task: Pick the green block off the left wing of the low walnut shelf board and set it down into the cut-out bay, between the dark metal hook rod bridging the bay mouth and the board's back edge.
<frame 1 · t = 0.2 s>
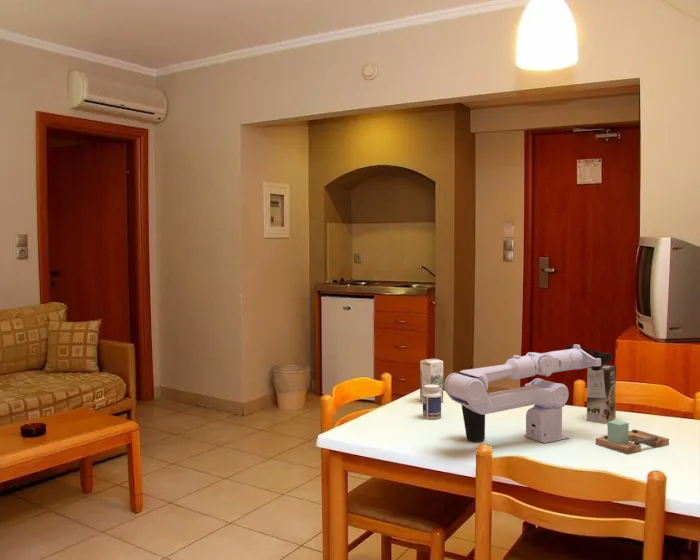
hand: (599, 355, 186), 21 cm above the table, tool horizontal, fingers open, 7 cm apart
coffee box: (601, 419, 197), on the table
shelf: (632, 444, 171), on the table
drinking cup: (475, 439, 177), on the table
green block: (617, 441, 169), point 2 cm above the table, touching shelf
pill bottle: (431, 418, 202), on the table
syrup box: (431, 402, 222), on the table
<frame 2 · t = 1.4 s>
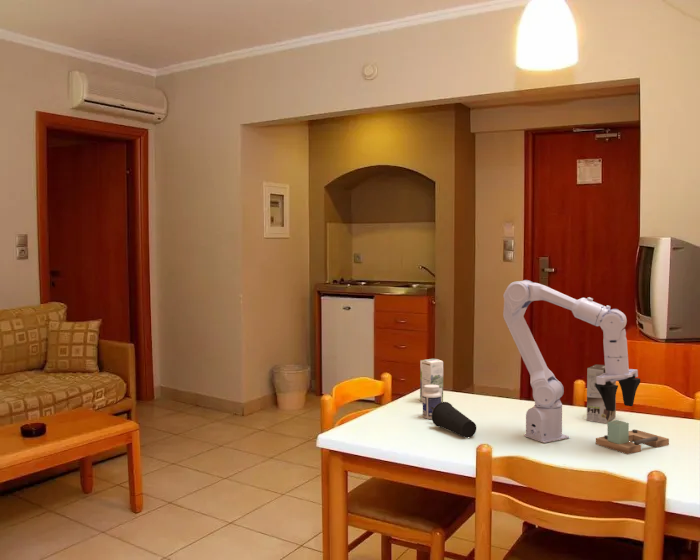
hand: (619, 408, 169), 10 cm above the table, tool pointing down, fingers open, 7 cm apart
drinking cup: (469, 429, 178), point 2 cm above the table
everything else where it was.
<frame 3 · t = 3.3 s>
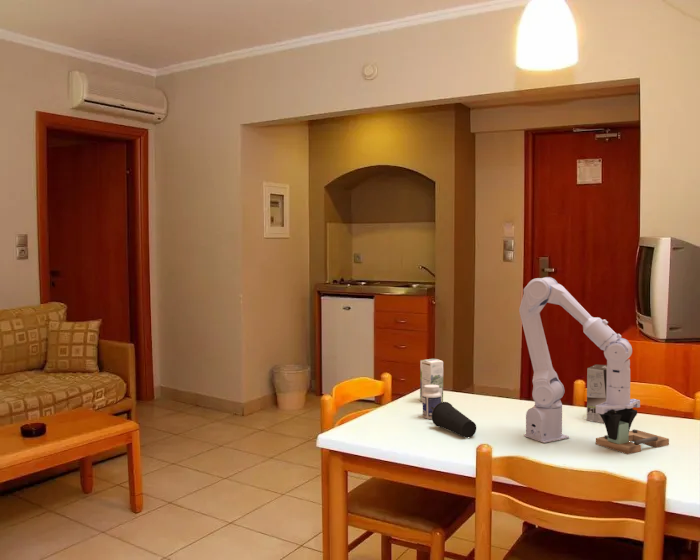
hand: (617, 437, 168), 3 cm above the table, tool pointing down, fingers closed on green block, 4 cm apart
green block: (617, 441, 169), point 2 cm above the table, touching gripper, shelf
everything else where it was.
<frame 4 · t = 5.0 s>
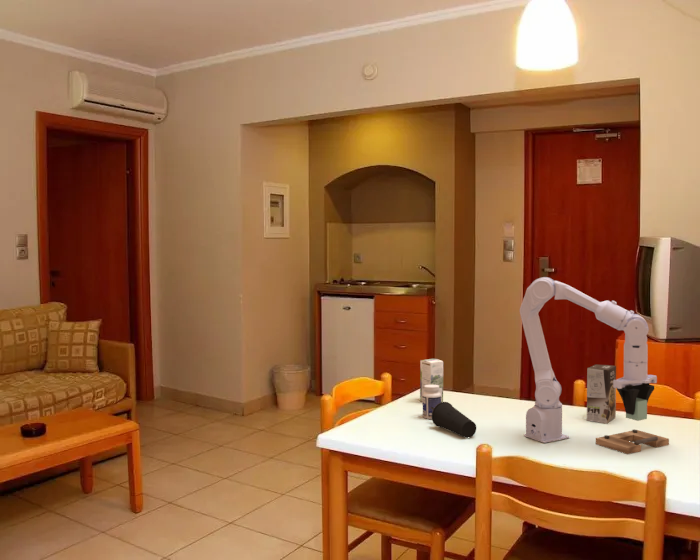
hand: (635, 412, 170), 9 cm above the table, tool pointing down, fingers closed on green block, 4 cm apart
green block: (636, 418, 170), point 7 cm above the table, touching gripper
everything else where it was.
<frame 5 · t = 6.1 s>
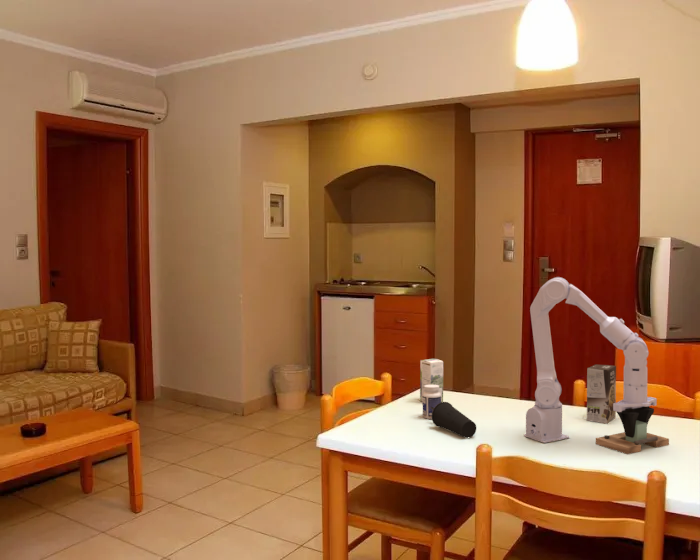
hand: (634, 435, 170), 3 cm above the table, tool pointing down, fingers closed on green block, 4 cm apart
green block: (636, 441, 170), point 1 cm above the table, touching gripper
everything else where it was.
when the fingers open (3 cm above the table, at t = 6.8 s): green block drops 1 cm, resting in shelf.
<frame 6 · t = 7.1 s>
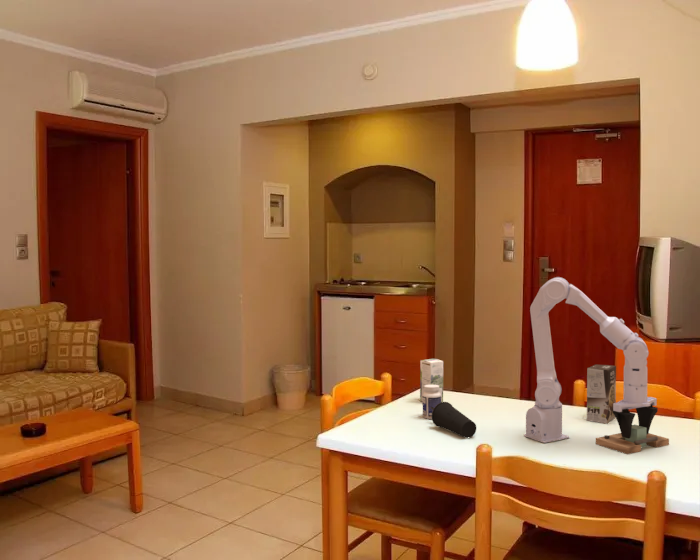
hand: (635, 435, 170), 3 cm above the table, tool pointing down, fingers open, 6 cm apart
green block: (635, 445, 170), resting in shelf
everything else where it was.
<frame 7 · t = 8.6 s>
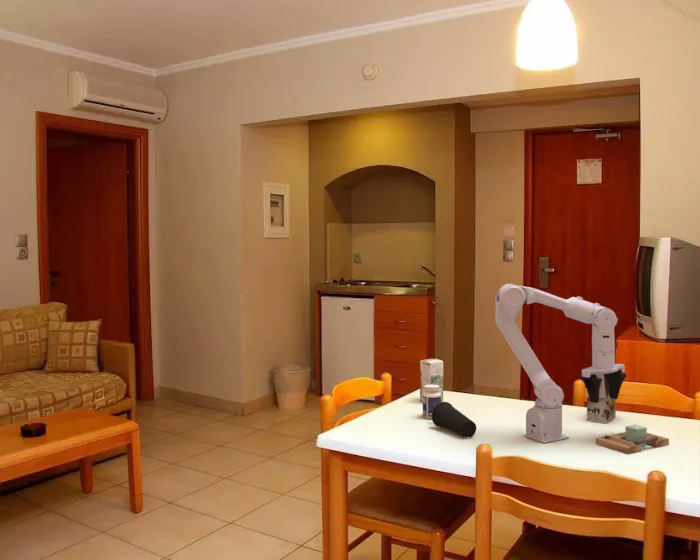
hand: (604, 400, 177), 10 cm above the table, tool pointing down, fingers open, 7 cm apart
nothing on the table moved.
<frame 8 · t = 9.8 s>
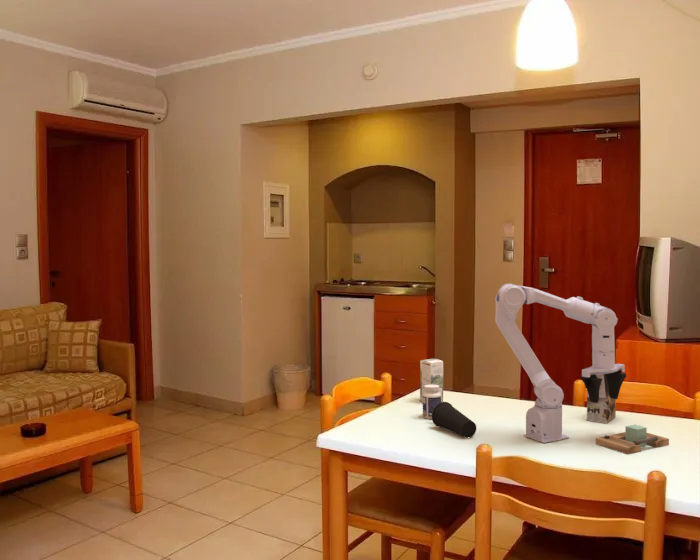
hand: (604, 400, 177), 10 cm above the table, tool pointing down, fingers open, 7 cm apart
nothing on the table moved.
at the end: green block 0.2 cm from the target spot on the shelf, point 0.0 cm above the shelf's base; green block tilted 0°; the gripper is holding nothing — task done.
